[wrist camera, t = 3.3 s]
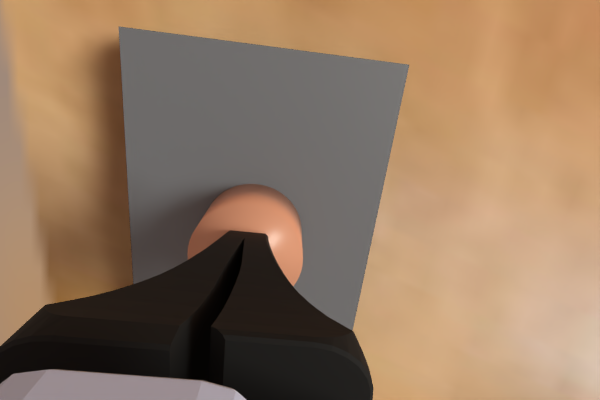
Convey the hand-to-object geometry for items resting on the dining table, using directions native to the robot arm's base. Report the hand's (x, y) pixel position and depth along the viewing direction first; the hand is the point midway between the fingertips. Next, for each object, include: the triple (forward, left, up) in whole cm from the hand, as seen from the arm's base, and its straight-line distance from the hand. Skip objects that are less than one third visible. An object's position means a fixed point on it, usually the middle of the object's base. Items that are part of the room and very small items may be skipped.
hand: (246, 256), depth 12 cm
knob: (0, 0, -4) cm, 4 cm away
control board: (-4, -3, -5) cm, 7 cm away
